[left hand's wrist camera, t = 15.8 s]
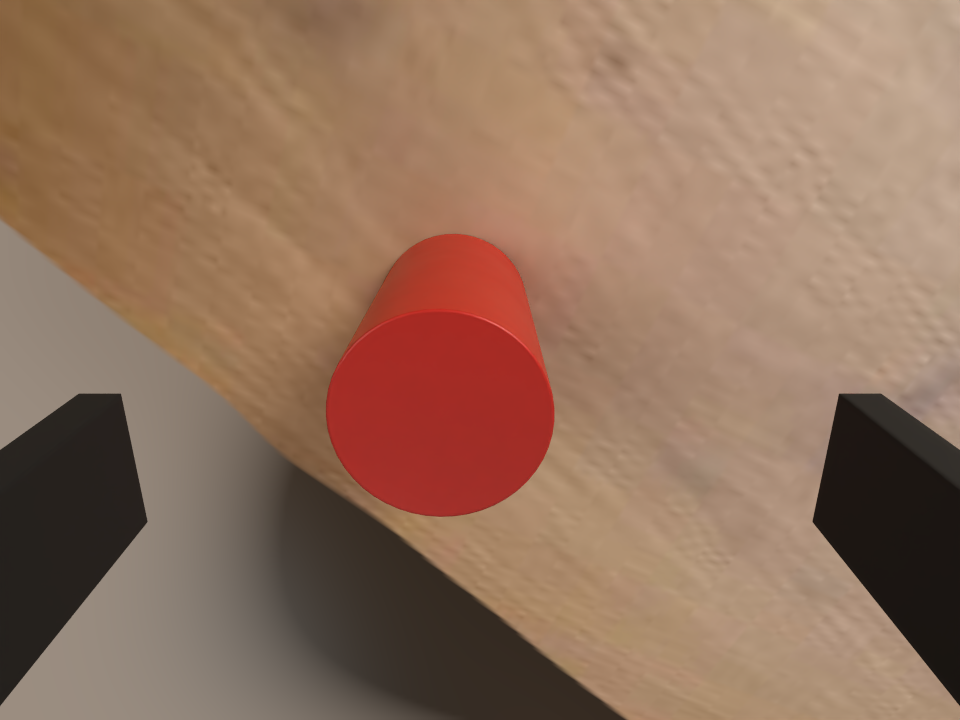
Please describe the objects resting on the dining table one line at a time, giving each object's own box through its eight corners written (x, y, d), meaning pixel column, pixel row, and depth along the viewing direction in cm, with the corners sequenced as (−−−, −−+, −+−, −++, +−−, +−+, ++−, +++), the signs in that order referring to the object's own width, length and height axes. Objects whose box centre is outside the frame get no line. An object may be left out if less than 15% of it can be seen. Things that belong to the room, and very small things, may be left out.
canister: (478, 396, 28) (478, 551, 18) (356, 328, 27) (286, 453, 17) (554, 282, 27) (600, 384, 17) (427, 205, 25) (395, 264, 16)
